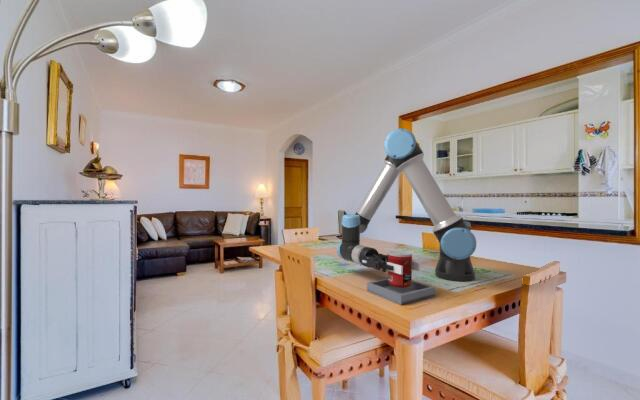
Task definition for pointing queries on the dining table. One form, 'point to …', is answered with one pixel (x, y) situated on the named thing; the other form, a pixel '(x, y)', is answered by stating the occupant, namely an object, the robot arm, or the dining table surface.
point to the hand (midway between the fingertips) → (410, 268)
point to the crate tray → (401, 291)
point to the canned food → (405, 261)
